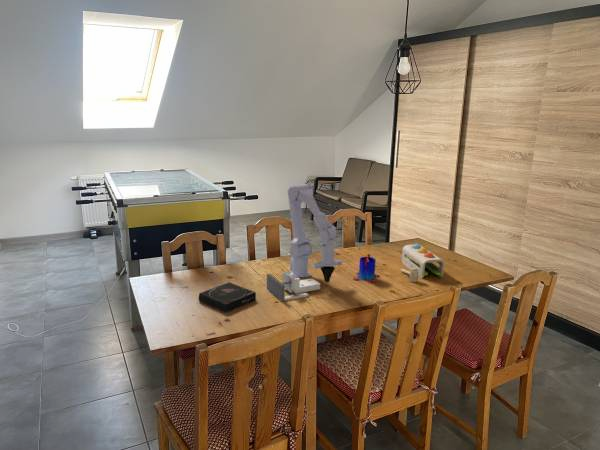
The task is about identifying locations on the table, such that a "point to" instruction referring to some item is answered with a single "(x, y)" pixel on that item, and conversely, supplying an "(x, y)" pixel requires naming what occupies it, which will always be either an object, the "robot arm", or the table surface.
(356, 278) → the fantasy tower
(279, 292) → the grey plate with rod
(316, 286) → the bracket
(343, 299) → the table surface
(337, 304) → the table surface
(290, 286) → the gauge plate
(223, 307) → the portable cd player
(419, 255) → the pound a ball toy
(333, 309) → the table surface
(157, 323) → the table surface
